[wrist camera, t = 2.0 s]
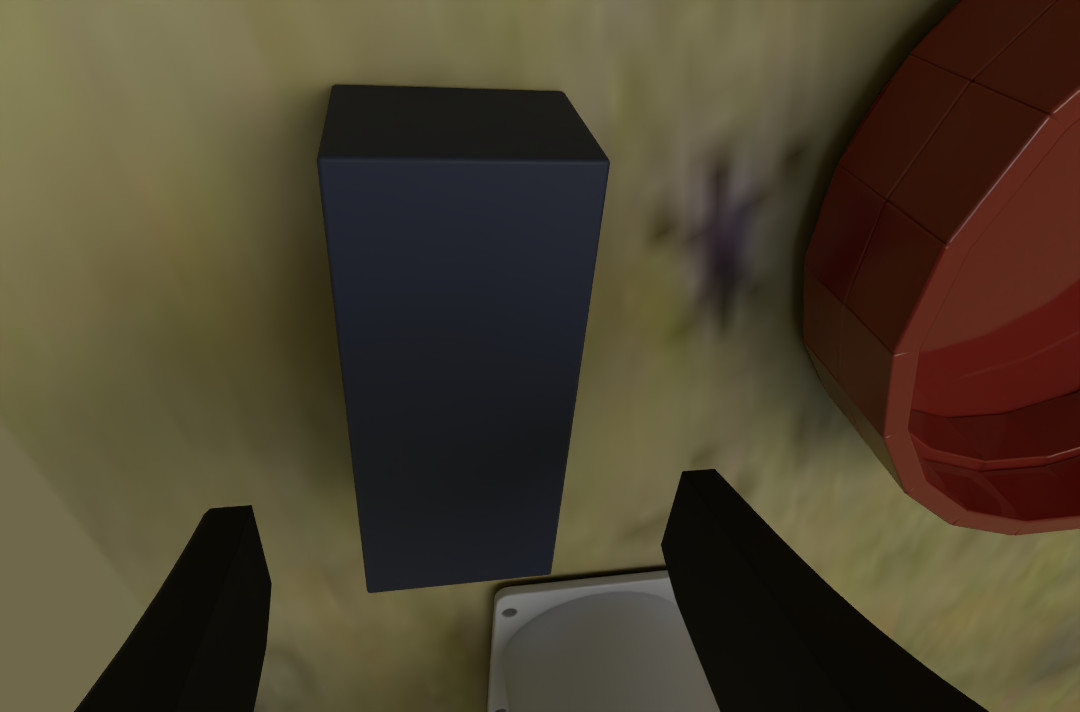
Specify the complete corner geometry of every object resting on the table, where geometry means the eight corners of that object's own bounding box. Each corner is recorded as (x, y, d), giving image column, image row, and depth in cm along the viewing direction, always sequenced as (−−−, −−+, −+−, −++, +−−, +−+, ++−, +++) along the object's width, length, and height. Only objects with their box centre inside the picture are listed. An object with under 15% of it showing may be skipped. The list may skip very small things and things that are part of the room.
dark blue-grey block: (527, 468, 21) (551, 575, 18) (370, 479, 20) (367, 594, 17) (564, 90, 14) (611, 160, 11) (331, 83, 13) (315, 157, 10)
